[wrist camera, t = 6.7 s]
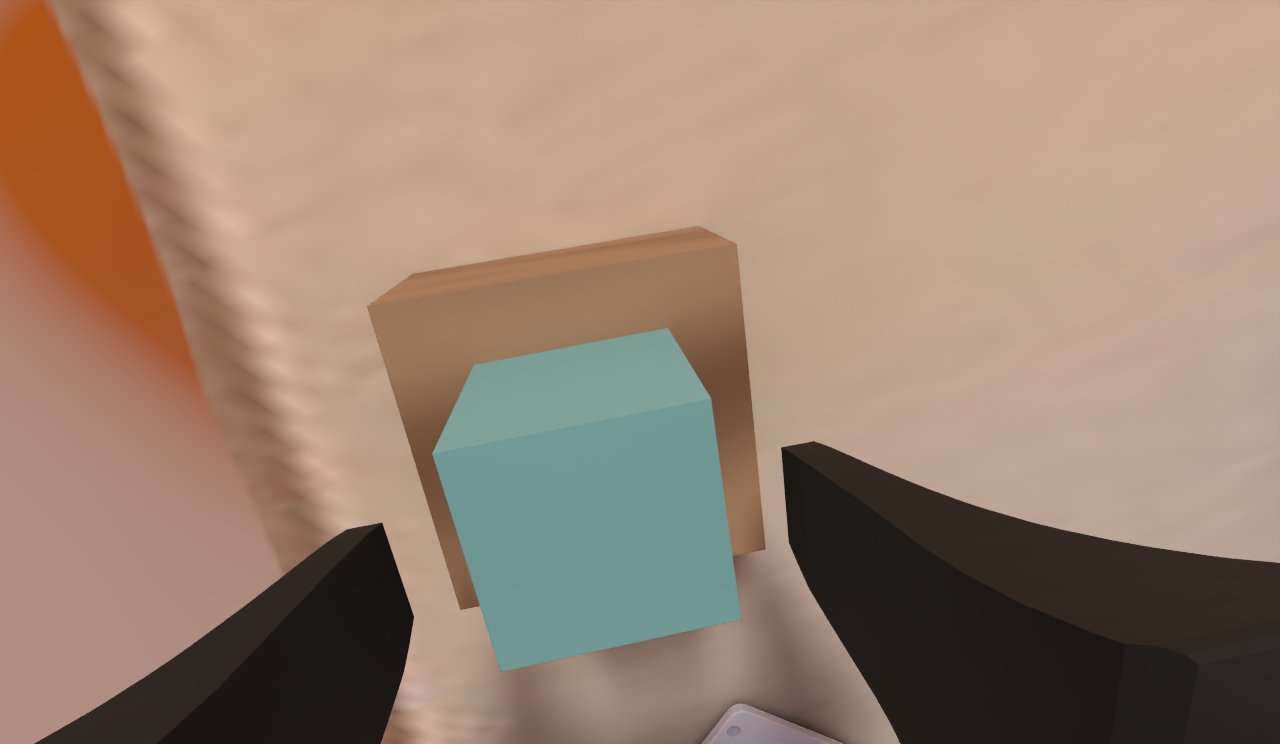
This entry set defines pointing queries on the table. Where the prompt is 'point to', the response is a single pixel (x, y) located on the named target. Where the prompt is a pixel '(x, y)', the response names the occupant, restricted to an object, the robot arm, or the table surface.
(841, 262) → the table surface
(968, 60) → the table surface
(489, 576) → the teal cube
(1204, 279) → the table surface
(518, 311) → the walnut block
